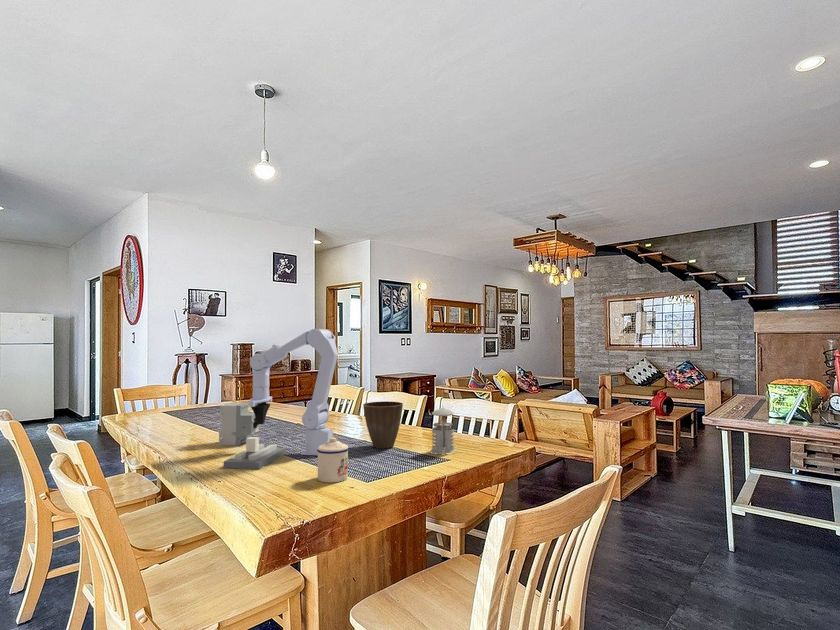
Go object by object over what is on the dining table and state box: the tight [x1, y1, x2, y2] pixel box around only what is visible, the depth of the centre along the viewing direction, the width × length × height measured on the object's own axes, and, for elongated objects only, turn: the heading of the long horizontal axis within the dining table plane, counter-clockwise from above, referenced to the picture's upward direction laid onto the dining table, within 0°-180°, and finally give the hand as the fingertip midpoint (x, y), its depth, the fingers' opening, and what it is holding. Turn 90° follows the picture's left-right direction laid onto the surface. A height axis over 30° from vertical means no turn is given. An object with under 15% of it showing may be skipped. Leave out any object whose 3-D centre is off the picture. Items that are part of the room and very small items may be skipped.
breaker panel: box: [223, 443, 288, 470], centre depth 156 cm, size 20×12×4 cm, turn 172°
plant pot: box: [362, 400, 404, 449], centre depth 175 cm, size 15×15×16 cm
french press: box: [430, 381, 457, 455], centre depth 166 cm, size 10×12×25 cm
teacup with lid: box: [317, 436, 350, 484], centre depth 137 cm, size 12×9×12 cm
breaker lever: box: [245, 436, 260, 457], centre depth 153 cm, size 3×3×6 cm
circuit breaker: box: [218, 402, 260, 446], centre depth 183 cm, size 8×14×15 cm, turn 89°
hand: (260, 423), depth 171 cm, fingers closed
